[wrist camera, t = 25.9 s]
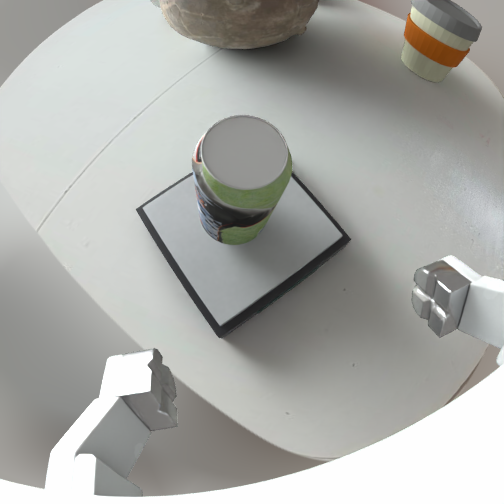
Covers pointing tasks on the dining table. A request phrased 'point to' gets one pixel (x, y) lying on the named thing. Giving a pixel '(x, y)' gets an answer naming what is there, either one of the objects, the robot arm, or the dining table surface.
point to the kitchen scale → (241, 251)
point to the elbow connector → (156, 3)
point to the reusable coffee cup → (437, 37)
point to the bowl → (238, 20)
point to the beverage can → (239, 177)
